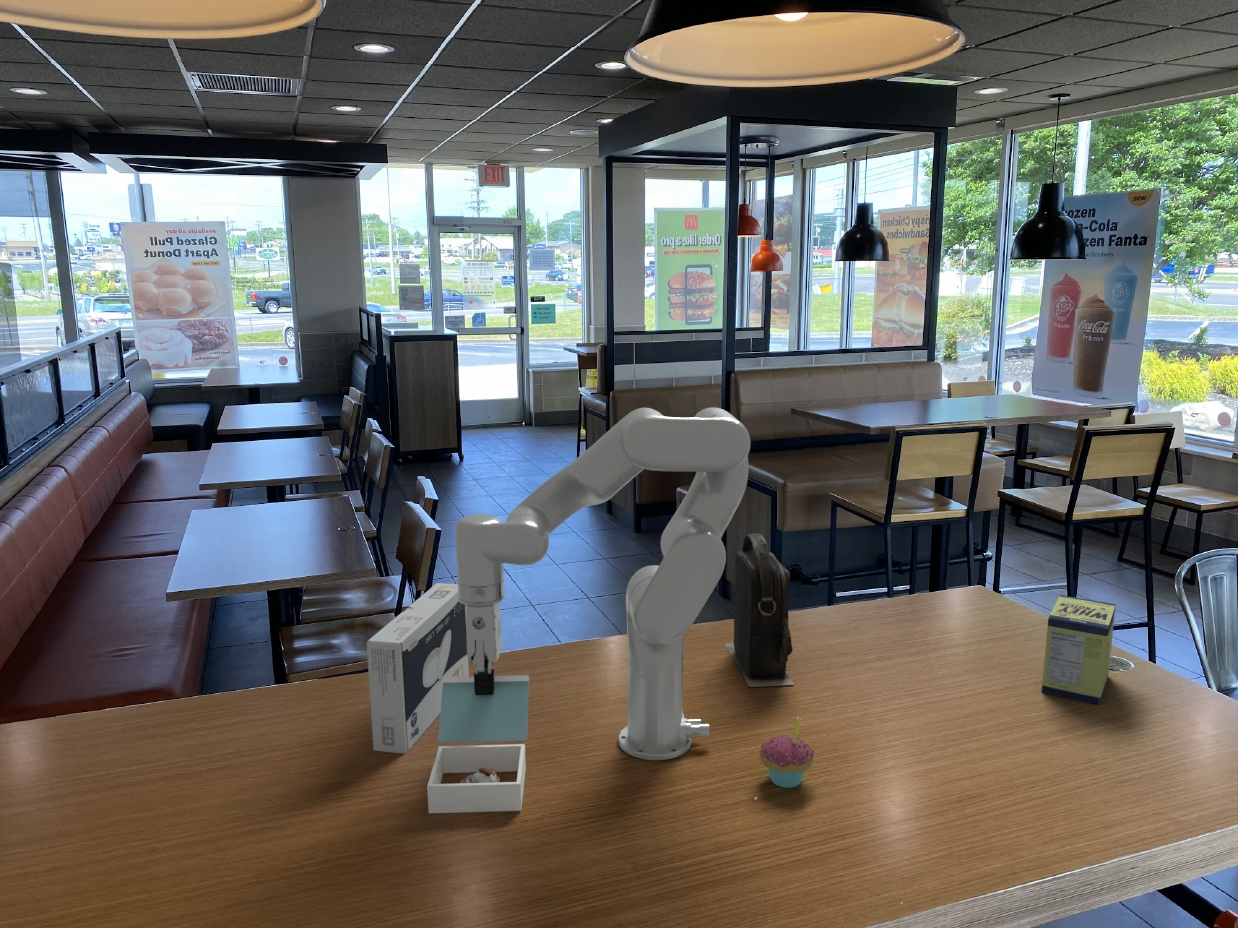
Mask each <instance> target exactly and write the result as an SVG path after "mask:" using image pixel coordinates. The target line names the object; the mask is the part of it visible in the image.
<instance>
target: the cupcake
mask: <svg viewBox="0 0 1238 928" xmlns="http://www.w3.org/2000/svg"><path fill="white" fill-rule="evenodd" d="M801 716H802V713H800V714H799V716H798V717H796V720H795V724H794V730H793V735H789V734H787V735H777V736H773V737H770V738H768V739H766V740H764V742H763V743H762V744H761V745H760V748H759V751H758V752H759V753H758V754H759V757H760V762H761V764H763V765H764V766H765V767H766V768H767V770H768V774H769V777H770V780H771V782H772V783H773V784H774V785H776V786H778V787H780V788H785V789H788V788H795V787H797V786H799V785H800V784H801V783H802V779H803V777H804V774H805V772H806V771H808V770H809V768H812V766H813V762H814V756H815V755H814V754H815V751H814V750H813V749H812V747H810V746H809V744H808V743H807V742H805V741H804V740H803V739H801V738H800V737H798V735H799V730H800V724H801V720H802V718H801Z"/></svg>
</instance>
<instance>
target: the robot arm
mask: <svg viewBox="0 0 1238 928" xmlns="http://www.w3.org/2000/svg"><path fill="white" fill-rule="evenodd" d="M750 450H751V437H750V434H749V431H748V429H747V428H746V427H745V425H744V424H743V423H742V422H741V421H740V420H738V419H737V418H736V416H734V415H733V414H731V413H730V412H729V411H726V410H725V409H722V408H720V407H706V408H703V409H702V410H700V411H698V412H697V413H696V414H695V415H694V417H678V416H677V417H676V416H675V417H673V416H665V415H663V414H662V413H661V412H660V411H657V410H655V409H653V408H651V407H640V408H636V409H634V410H632V411H630V412H629V413H628V414H626V415H625V416H623V417H622V418H621V419H620V420H619V421H618V422H617V423H616V424H614V425H613V426H612V427H611V428H610V429H609V430H608V431H606V432H605V433H604V434H603V435H602V436H601V437H600V438H598V440H596V442H594V443H593V444H592V445H590V447H589V448H587V449H585V450H584V452H582V453H581V454H580V455H579V456H577V457H576V458H575V459H574V460H573V461H572V462H570V463H569V464H568V465H567V466H564V467H563V468H562V469H561V470H559V471H558V472H557V473H556V474H554V475H553V476H552V477H550V478H549V479H547V480H546V481H545V482H543V483H542V484H541V485H539V487H538V488H536V489H535V490H533V492H532V493H530V494H529V495H528V496H527V497H526V498H524V499H523V500H522V501H521V502H520V503H519V504H518V505H517V506H516V507H515V508H514V509H512V511H511V512H510V513H509V514H508V516H507V517H506V520H505V522H501V521H500V519H498V518H497V517H496V516H493V515H489V514H471V515H466V516H464V517H461V518H460V519H459V520H458V521H457V523H456V524H455V531H454V532H455V551H456V556H455V557H456V572H457V574H456V575H457V579H456V580H457V584H458V601H459V602H460V603H462V604H464V605H465V612H466V640H467V655H468V663H473V667H474V668H473V670H474V672H473V676H474V690H475V695H493V694H494V689H495V688H494V676H495V669H494V668H493V666H494V663H497V661H498V660H499V659H500V658H499V657H500V653H501V649H502V629H501V628H502V627H501V612H500V611H501V610H500V602H502V601H503V600H504V599H505V589H504V588H505V586H504V585H505V584H504V581H505V580H504V564H507V565H515V566H533V565H534V564H535V565H536V564H537V563H539V562H540V561H542V560H543V559H544V558H545V557H546V555H547V553H548V550H549V545H550V543H549V542H550V538H549V537H550V534H551V533H553V532H554V531H555V530H556V529H557V528H558V527H559V526H561V525H562V524H563V523H565V521H567V520H568V519H569V518H570V517H572V516H573V515H575V514H577V512H579V511H581V510H583V509H584V508H588V507H590V506H597V505H600V504H603V503H605V502H607V501H609V500H611V498H613V497H614V496H615V495H616V494H617V493H618V492H619V491H620V490H622V489H623V488H624V487H626V485H627V484H628V483H629V482H630V481H632V480H633V479H634V478H635V477H637V476H638V475H639V474H640V473H641V472H642V471H644V470H649V471H656V472H692V473H693V472H694V473H695V472H696V473H695V476H694V477H693V480H692V482H691V485H690V486H689V489H688V491H687V492H686V494H685V496H684V498H683V499H682V500H681V503H679V506H678V508H677V510H675V513H674V514H673V516H672V517H671V519H670V520H669V522H668V523H667V525H666V527H665V529H664V530H663V532H662V534H661V536H660V551H661V554H662V556H663V558H662V561H660V564H659V565H657V564H655V565H654V564H653V565H646V566H643V567H642V568H639V569H638V570H636V572H635V573H634V574H633V575H632V576H631V578H630V579H629V581H628V584H627V587H626V592H625V612H626V614H625V615H626V630H627V631H626V633H627V638H626V640H627V642H626V643H627V658H626V659H627V725H626V726H625V727H624V728H623V729H621V730H620V732H619V733H618V734H619V735H618V744H619V747H620V748H621V750H622V751H624V752H625V753H626V754H628V755H630V756H631V757H634V758H637V759H641V760H647V761H666V760H671V759H674V758H677V757H680V756H681V755H684V754H685V753H687V752H688V751H689V749H690V748H691V745H692V736H703V737H705V736H710V734H711V731H710V730H711V729H710V724H709V723H702V721H701V719H700V718H693V719H692V718H691V719H688V718H686V717H685V715H684V711H683V699H684V698H683V693H684V692H683V687H684V686H683V685H684V682H683V681H684V673H683V672H684V635H685V634H686V633H688V631H689V630H690V628H691V627H692V625H694V622H695V621H696V619H697V618H698V616H699V615H700V613H701V612H702V609H703V608H704V606H705V604H706V603H707V601H708V600H709V598H710V596H711V594H712V593H713V591H714V590H715V588H716V587H717V585H718V583H719V581H720V579H721V577H722V575H723V573H724V571H725V566H726V562H727V559H726V558H727V557H726V555H727V553H726V547H725V545H724V542H723V541H722V538H723V535H724V533H725V531H726V530H727V528H728V526H729V524H730V522H731V520H732V519H733V516H734V514H735V512H737V509H738V508H739V505H740V503H741V501H742V499H743V496H744V495H745V491H746V488H747V485H748V480H749V479H748V478H749V457H748V456H749V453H750Z"/></svg>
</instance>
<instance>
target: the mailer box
mask: <svg viewBox="0 0 1238 928" xmlns="http://www.w3.org/2000/svg"><path fill="white" fill-rule="evenodd" d="M435 756H436V757H435V759H434V762H433V766H432V770H431V773H430V776H429V779H428V783H427V786H426V790H427V807H428V808H427V810H428V814H449V813H450V814H451V813H452V814H454V813H486V812H487V813H488V812H493V813H494V812H519V811H520V812H522V807H523V798H524V788H525V780H526V779H525V777H526V769H527V767H526V765H527V763H526V744H525V743H517V744H516V743H515V744H482V745H481V744H480V745H479V744H476V745H475V744H473V745H472V744H471V745H439V746H438V749H437V752H436V755H435ZM484 767H488V768H489V767H491V768H492V770H493V772H495V773H500V772H501V773H502V772H505V773H507V772H517V777H516V781H505V782H504V781H503V782H501V781H500V782H494V783H460V782H459V783H458V782H457V783H442V781H443V780H442V779H443V776H444V774H457V773H458V774H459V773H461V774H462V773H463V774H464V773H477V772H479V769H480V768H484Z"/></svg>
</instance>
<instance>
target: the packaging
mask: <svg viewBox="0 0 1238 928" xmlns="http://www.w3.org/2000/svg"><path fill="white" fill-rule="evenodd" d="M366 654H367V668H368V670H367V671H368V681H369V684H368V685H369V699H370V716H371V717H370V719H371V732H372V733H371V734H372V744H373V745H372V747H373V751H374V752H375V751H377V752H387V753H396V754H404V755H405V754H407V752H409V751H410V750H411V748H412V747H413V746H414V745H415V743H416V742H418V740H419V739H420V738H421V737H422V735H423V734H424V733H425V732H426V730H427V729H428V728H429V727H430V726H431V724H433V722H434V721H435V720H436V718H437V717H438V716H440V711H441V699H442V688H443V677H470V672H469V670H470V669H469V661H468V655H467V640H466V612H465V605H464V604H462V603H460V602H459V601H458V583H442V582H436V583H435V584H434V585H433V586H431V587H430V588H429V589H428V590H427V591H426V592H424V593H423V594H422V595H421V596H420V597H419V598H418V599H416V600H415V601H414V602H412V603H411V604H410V605H409V606H408V607H407V608H406V609H405V610H404V611H402V612H400V614H398V615H397V616H395V618H393V619H392V620H391V621H390V622H388V623H387V624H386V625H385V626H384V627H383V628H381V629H380V630H379V631H378V632H377V633H375V634H374V635H372V637H370V639H368V640H367V641H366Z"/></svg>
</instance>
